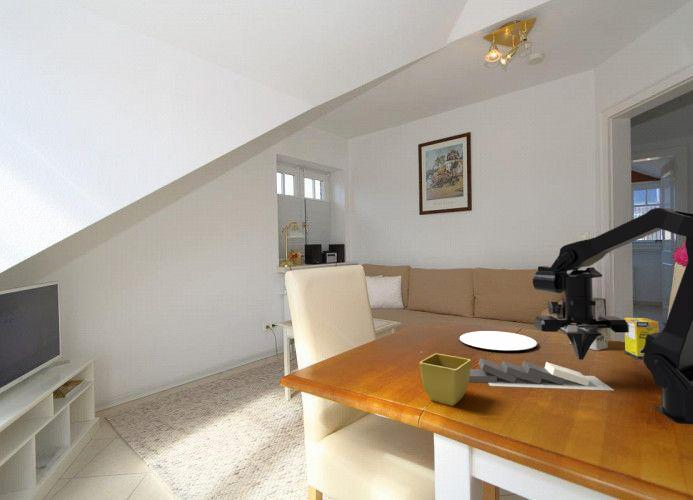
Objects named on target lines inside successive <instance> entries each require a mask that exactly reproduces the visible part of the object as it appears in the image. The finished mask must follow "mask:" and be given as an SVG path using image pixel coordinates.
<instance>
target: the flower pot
mask: <svg viewBox="0 0 693 500" xmlns="http://www.w3.org/2000/svg"><path fill="white" fill-rule="evenodd" d="M418 364H419V369H420V376H421V380H422V381H421V382H422V386H423V389H424V392H425V393H426V394H427V397H429V399H430V400H431V401H432V402H435V403H438V404H439V403H440V404H443V405H447V406H450V407H454V406H455V405H456V404H457V403H458V402H459V401H461V400H462V399H463V397H464V396H465V394H466V392H467V389H468V386H469V383H470V382H469V377H470V369H471V365H472V360H471V359H470V358H465V357H461V356H454V355H448V354H443V353H437V352H436V353H434V354H432V355H429V356H427V357H426V358H424V359H422V360H421V361H420V362H418Z"/></svg>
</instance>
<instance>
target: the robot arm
mask: <svg viewBox="0 0 693 500" xmlns="http://www.w3.org/2000/svg"><path fill="white" fill-rule="evenodd" d="M662 230H663V231H666V232H669V233H672V234H675V235H679V236H682V237H685V243H684V244H685V253H686V257H687V262H686V265H685V268H684V272H683V274H682V276H681V280H680V283H679V285H678V288H677V291H676V294H675V297H674V300H673V302H672V304H671V308H670V311H669V314H668V316H667V319H666V322H665V326H664V328H663V329H662V331H659V332H657V333H653V334H648V335H647V337H646V341H645V346H644V348H643V350H641V351H640V353H644V355H643V359H642V362H643V364H644V365H645V367H646V369H647V370H648V371H649V372H650V374H651V376H652V378H653V380H654V383H655V385H656V387H659V388H661V405H662V406H653V409H654V410H656V411H657V412H659V413H661V414H662V415H663V416H665V417H666V418H668V419H669V420H671V421H672V422H674V423H675V424H680V425H681V424H683V425H684V424H685V425H693V213H691V212H685V211H680V210H675V209H673V208H668V207H654V208H651V209H649V210H648V211H647V212H645V213H644V214H641V215H640V216H636V217H635V218H633V219H631V220H629V221H626V222H624V223H622V224H620V225H619V226H616V227H614V228H612V229H610V230H607V231H606V232H604V233H601V234H599V235H597V236H595V237H591V238H587V239H583V240H578V241H575V242H572V243H568V244H565V245H563V246H562V247H560V249H559V253H558V256H557V258H556V259H555V261H553V263H552V265H551V266H547V265H543V266H538V267H537V271H536V272H535V274H534V276H533V278H532V285H533V287H534V289H535V290H536V291H538V292H543V293H544V292H545V293H553V294H561V293H563V292H564V297H562V300H561V301H562V303H561V304H559V302H558V301H549V302H548V303H547V304H548V305H547V306H548V307H547V309H548V314H549V315H537V316H536V317H535V318H534V320H533V321H534V322H533V323H534V326H533V327H534V328H536V329H538V330H539V331H541V332H544V333H551V332H552V333H553V332H554V333H557V332H558V331H559V332H562V333H564V334H565V335H566V336H567V338H568V339H569V340H570V342H571V344H572V345H571V346H572V348H573V351H574V353H575V355H576V358H577V359H578V360H581V361H583V360H584V359H585V357H586V355H587V353H588V351H589V350H590V349H589V348H590V346H591V345H592V343H593V342H594V340H595V339H596V338H597V336H601V335H602V333H599V332H598V329H599V328H607V329H610V330H611V331H612V332H614V333H619V334H620V333H621V334H622V333H624V334H625V333H628V332H629V325H628V323H627V322H626V321H625V320H624V318H620V317H618V316H615V315H613V316H611V315H610V316H609V315H608V316H607V315H606V316H599V317H598V319H597V320H596V318H593V305H596V301H593V294H594V293H593V292H594V290H593V279H597V278H602V277H603V274H602V273H601V272H599V271H598V270H596V268H595V267H594V266H592V265H594V264H596V263H597V262H599V261H601V260H602V259H603V258H604V257H605V256H606V255H607V254H609V253H611V252H612V251H615V250H617V249H619V248H622V247H625V246H626V245H629V244H631V243H634V242H636V241H638V240H640V239H642V238H645V237H648V236H650V235H653V234H655V233H657V232H660V231H662ZM582 268H586V269H585V270H584V269H582ZM569 271H571V272H569ZM552 315H555V316H556V317H554V316H552ZM569 340H568V341H569Z"/></svg>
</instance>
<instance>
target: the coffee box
mask: <svg viewBox="0 0 693 500" xmlns="http://www.w3.org/2000/svg"><path fill="white" fill-rule="evenodd" d="M593 301H596V305H593V318H596V320H597V319H598V317H599V316H607V299H606V298H602V297H601V298H600V297H593ZM598 332H599V333H602V335H601V336H597V338H596V339H595V340H594V342H593V343H592V345H591V346H590V348H589V350H594V351H600V350H605V349H608V348H609V346H608V345H609V344H608V328H599V329H598ZM568 342H569V345H570V344H571V342H570V340H568ZM571 346H572V344H571Z"/></svg>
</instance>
